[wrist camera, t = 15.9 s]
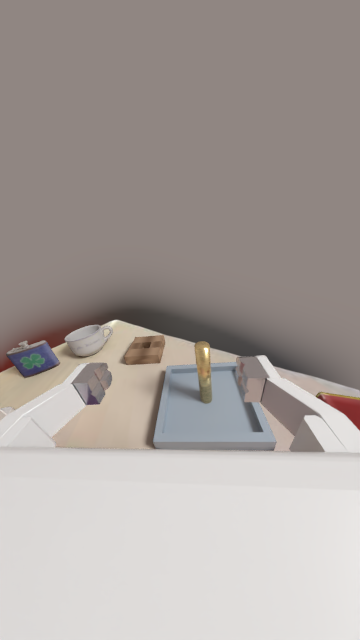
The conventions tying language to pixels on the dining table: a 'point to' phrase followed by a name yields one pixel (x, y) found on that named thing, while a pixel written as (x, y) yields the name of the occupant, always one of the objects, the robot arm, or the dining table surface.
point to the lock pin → (204, 371)
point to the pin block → (145, 350)
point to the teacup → (87, 340)
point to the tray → (209, 413)
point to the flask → (33, 358)
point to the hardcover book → (343, 405)
